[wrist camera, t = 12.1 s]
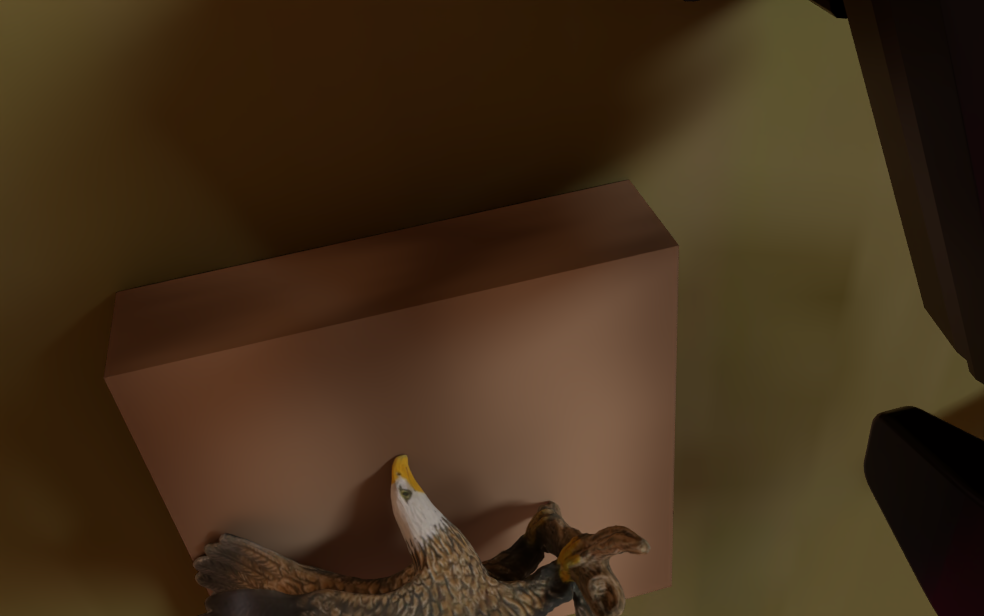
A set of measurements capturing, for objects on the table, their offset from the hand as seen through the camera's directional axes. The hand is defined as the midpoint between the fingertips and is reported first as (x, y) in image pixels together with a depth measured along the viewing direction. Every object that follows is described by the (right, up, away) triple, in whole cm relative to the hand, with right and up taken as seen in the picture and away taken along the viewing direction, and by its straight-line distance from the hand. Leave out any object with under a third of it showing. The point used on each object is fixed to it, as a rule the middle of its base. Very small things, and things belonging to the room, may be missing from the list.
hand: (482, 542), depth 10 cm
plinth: (-2, -1, +15) cm, 15 cm away
